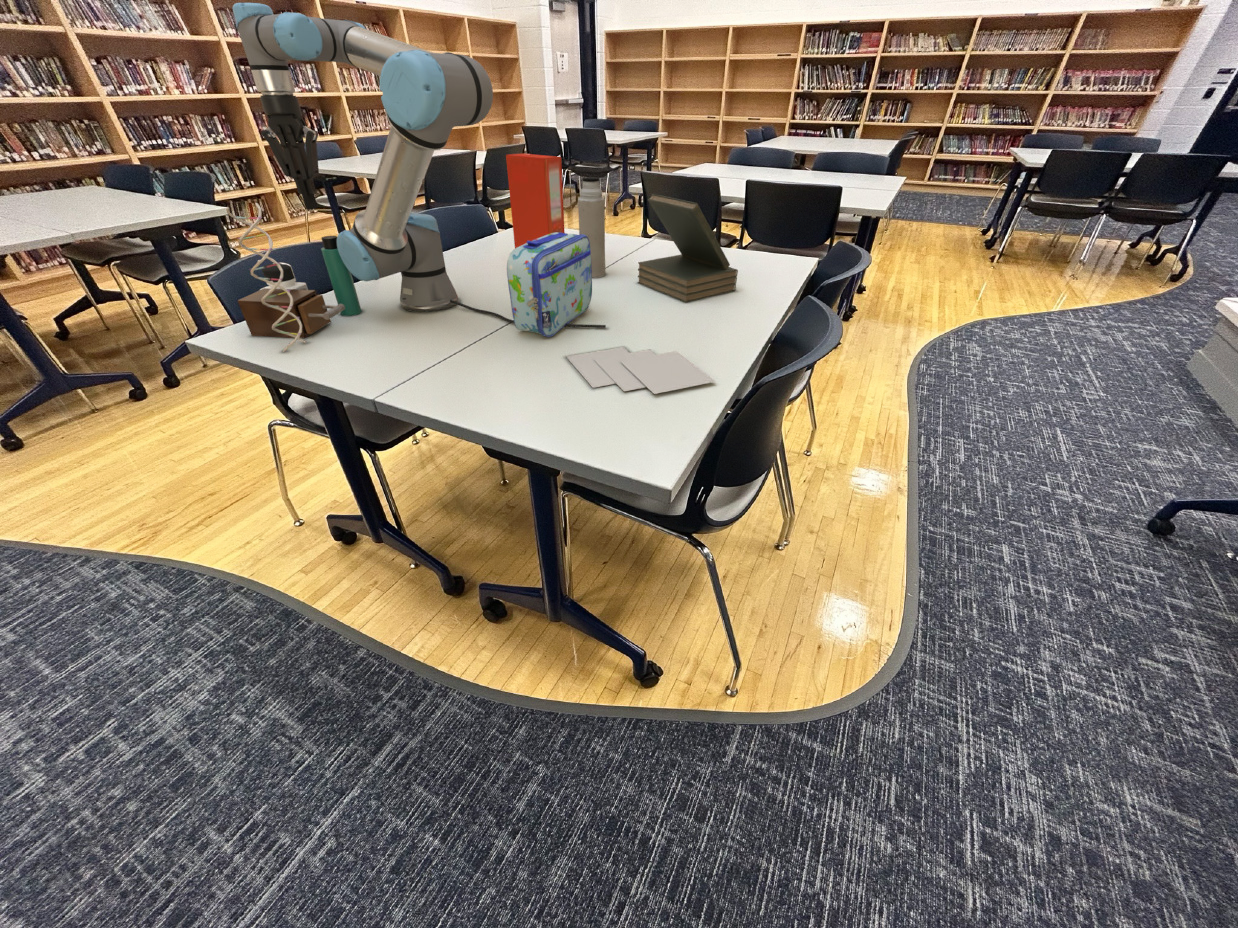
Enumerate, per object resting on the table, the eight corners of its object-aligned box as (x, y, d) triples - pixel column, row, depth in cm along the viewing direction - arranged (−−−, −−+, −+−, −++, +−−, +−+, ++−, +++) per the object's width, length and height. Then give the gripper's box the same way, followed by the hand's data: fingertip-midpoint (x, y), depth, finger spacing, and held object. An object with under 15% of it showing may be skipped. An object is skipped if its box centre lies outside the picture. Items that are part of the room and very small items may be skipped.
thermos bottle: (575, 275, 171) (571, 177, 155) (591, 270, 177) (588, 175, 161) (595, 279, 168) (592, 180, 152) (610, 273, 173) (609, 177, 157)
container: (296, 321, 136) (277, 269, 129) (270, 319, 137) (250, 267, 130) (316, 311, 142) (299, 261, 135) (290, 309, 143) (273, 259, 136)
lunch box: (546, 344, 124) (538, 250, 112) (508, 336, 128) (497, 245, 116) (598, 310, 143) (596, 227, 131) (564, 305, 147) (559, 223, 135)
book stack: (735, 291, 158) (747, 198, 144) (685, 302, 149) (692, 205, 135) (685, 273, 174) (691, 188, 159) (637, 283, 165) (639, 193, 150)
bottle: (365, 309, 144) (344, 235, 133) (355, 316, 139) (333, 239, 128) (347, 309, 144) (325, 234, 133) (336, 315, 140) (313, 239, 129)
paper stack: (609, 406, 99) (609, 403, 99) (565, 356, 118) (565, 353, 118) (715, 384, 107) (716, 381, 107) (659, 340, 126) (659, 338, 125)
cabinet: (326, 324, 135) (315, 290, 130) (304, 338, 127) (291, 302, 122) (276, 322, 136) (263, 288, 131) (251, 336, 128) (236, 300, 123)
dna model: (290, 355, 119) (234, 208, 101) (273, 349, 121) (215, 205, 104) (317, 345, 123) (268, 203, 106) (299, 339, 126) (249, 200, 109)
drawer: (351, 322, 133) (343, 295, 129) (333, 335, 126) (324, 307, 122) (284, 319, 134) (274, 293, 131) (263, 332, 128) (251, 304, 124)
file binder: (532, 254, 194) (523, 153, 176) (566, 262, 185) (561, 156, 167) (515, 258, 189) (505, 155, 171) (549, 266, 180) (542, 158, 162)
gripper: (314, 94, 122) (344, 206, 135) (261, 94, 123) (296, 205, 136) (294, 94, 116) (328, 212, 129) (239, 94, 117) (278, 211, 130)
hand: (312, 208), depth 133 cm, fingers closed
